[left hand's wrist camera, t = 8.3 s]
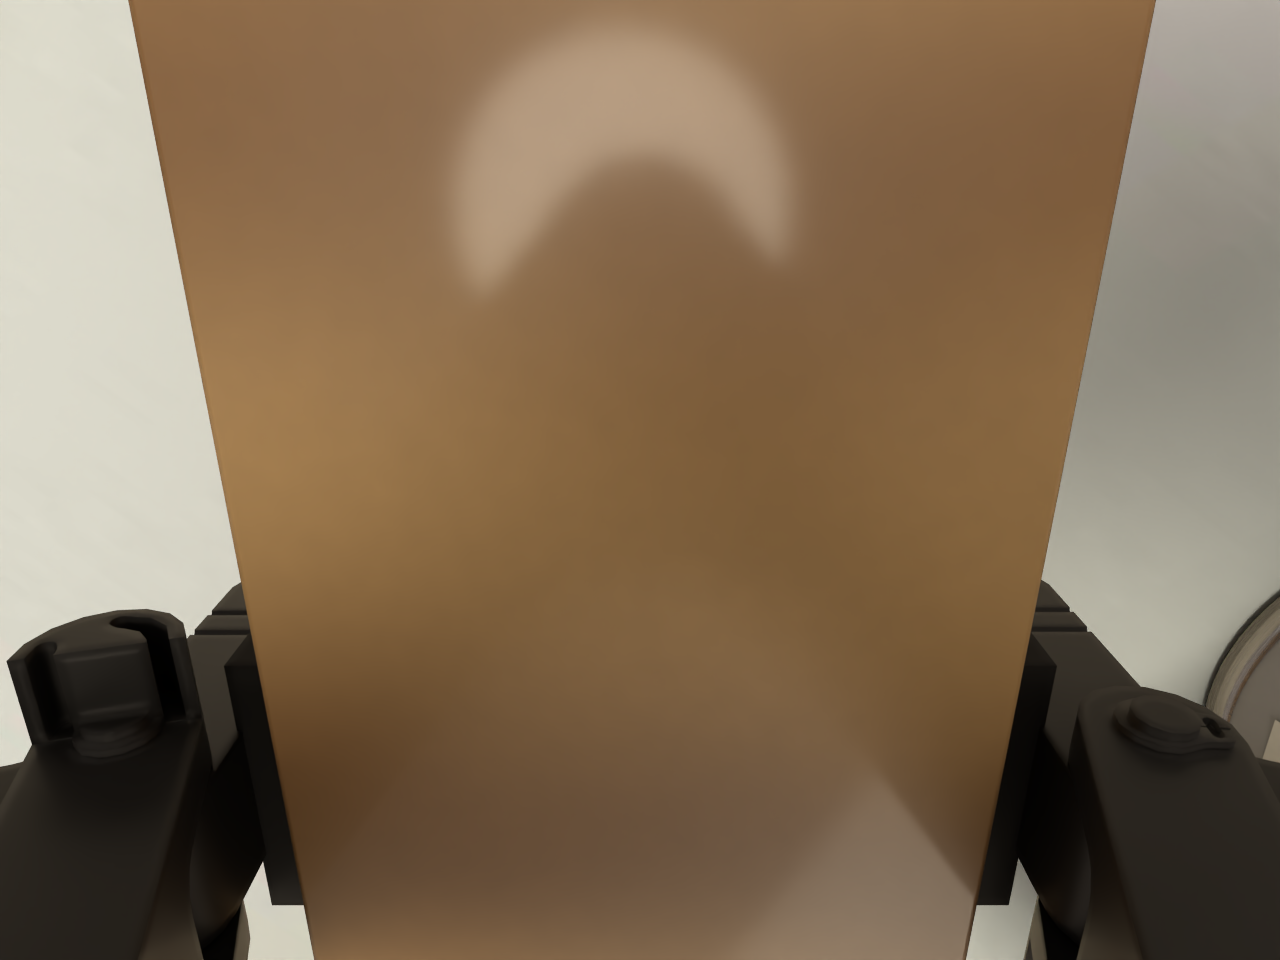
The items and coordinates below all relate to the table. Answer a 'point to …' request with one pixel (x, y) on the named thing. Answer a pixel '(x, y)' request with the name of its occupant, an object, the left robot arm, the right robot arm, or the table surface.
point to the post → (641, 444)
